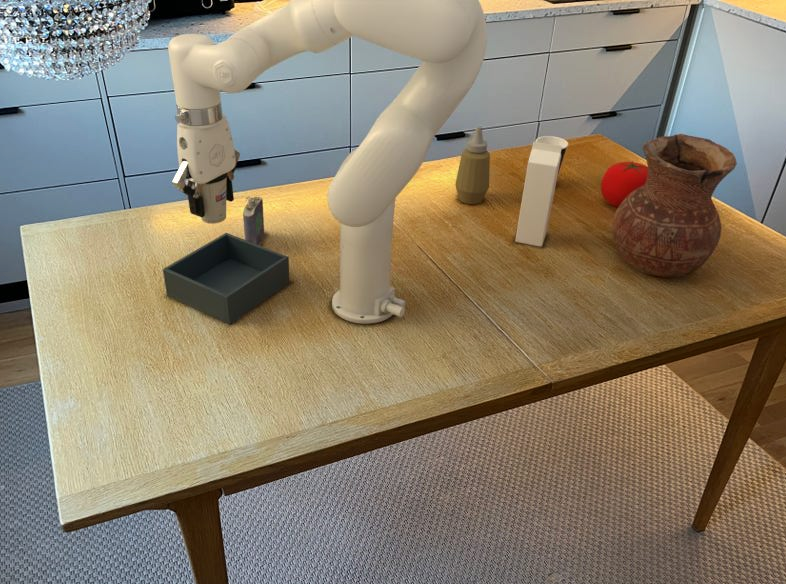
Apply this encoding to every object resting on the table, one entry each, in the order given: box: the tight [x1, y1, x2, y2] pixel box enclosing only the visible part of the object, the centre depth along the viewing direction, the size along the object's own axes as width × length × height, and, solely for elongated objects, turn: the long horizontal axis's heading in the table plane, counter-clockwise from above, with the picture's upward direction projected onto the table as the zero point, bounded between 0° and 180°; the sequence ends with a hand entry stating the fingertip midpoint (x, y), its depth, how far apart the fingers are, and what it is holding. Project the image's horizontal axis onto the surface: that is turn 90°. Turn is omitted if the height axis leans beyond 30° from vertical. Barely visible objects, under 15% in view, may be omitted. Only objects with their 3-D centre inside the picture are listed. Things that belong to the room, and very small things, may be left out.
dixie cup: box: [535, 135, 569, 178], centre depth 189 cm, size 8×8×11 cm
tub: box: [162, 232, 291, 325], centre depth 149 cm, size 16×18×6 cm
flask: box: [242, 196, 266, 246], centre depth 162 cm, size 9×3×11 cm, turn 172°
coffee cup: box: [192, 173, 228, 225], centre depth 140 cm, size 7×7×10 cm
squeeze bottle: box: [454, 125, 491, 205], centre depth 179 cm, size 8×8×18 cm
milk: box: [514, 141, 562, 247], centre depth 163 cm, size 6×6×22 cm
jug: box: [611, 133, 738, 278], centre depth 155 cm, size 22×21×25 cm
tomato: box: [600, 160, 648, 209], centre depth 181 cm, size 12×12×10 cm
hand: (212, 206), depth 141 cm, fingers closed on coffee cup, 7 cm apart
